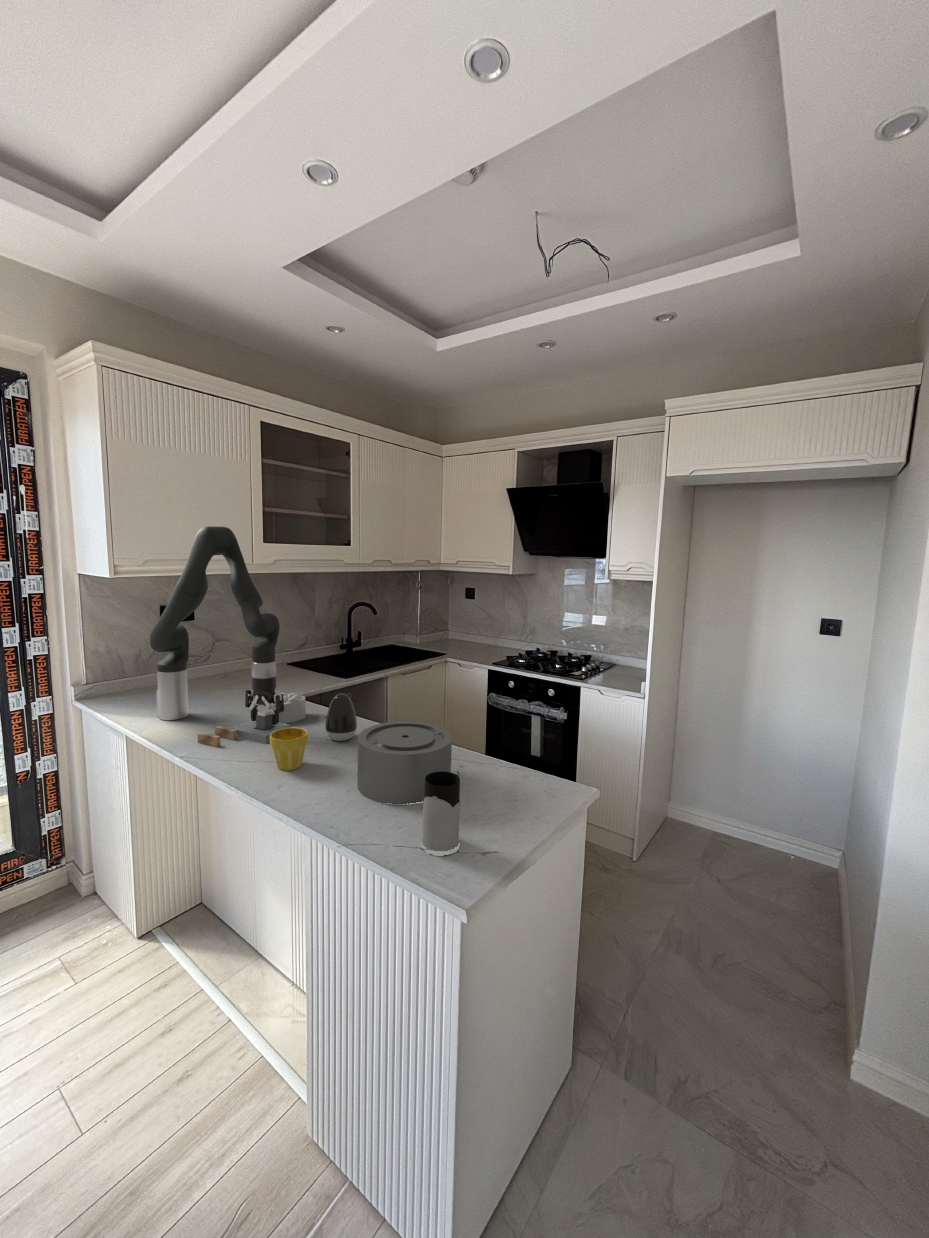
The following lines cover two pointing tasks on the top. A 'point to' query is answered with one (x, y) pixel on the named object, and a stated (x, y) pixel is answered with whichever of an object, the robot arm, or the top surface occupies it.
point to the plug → (264, 720)
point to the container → (401, 760)
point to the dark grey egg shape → (341, 718)
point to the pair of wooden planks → (217, 736)
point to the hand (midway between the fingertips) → (264, 722)
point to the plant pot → (289, 747)
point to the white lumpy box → (292, 708)
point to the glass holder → (441, 811)
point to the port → (259, 732)
